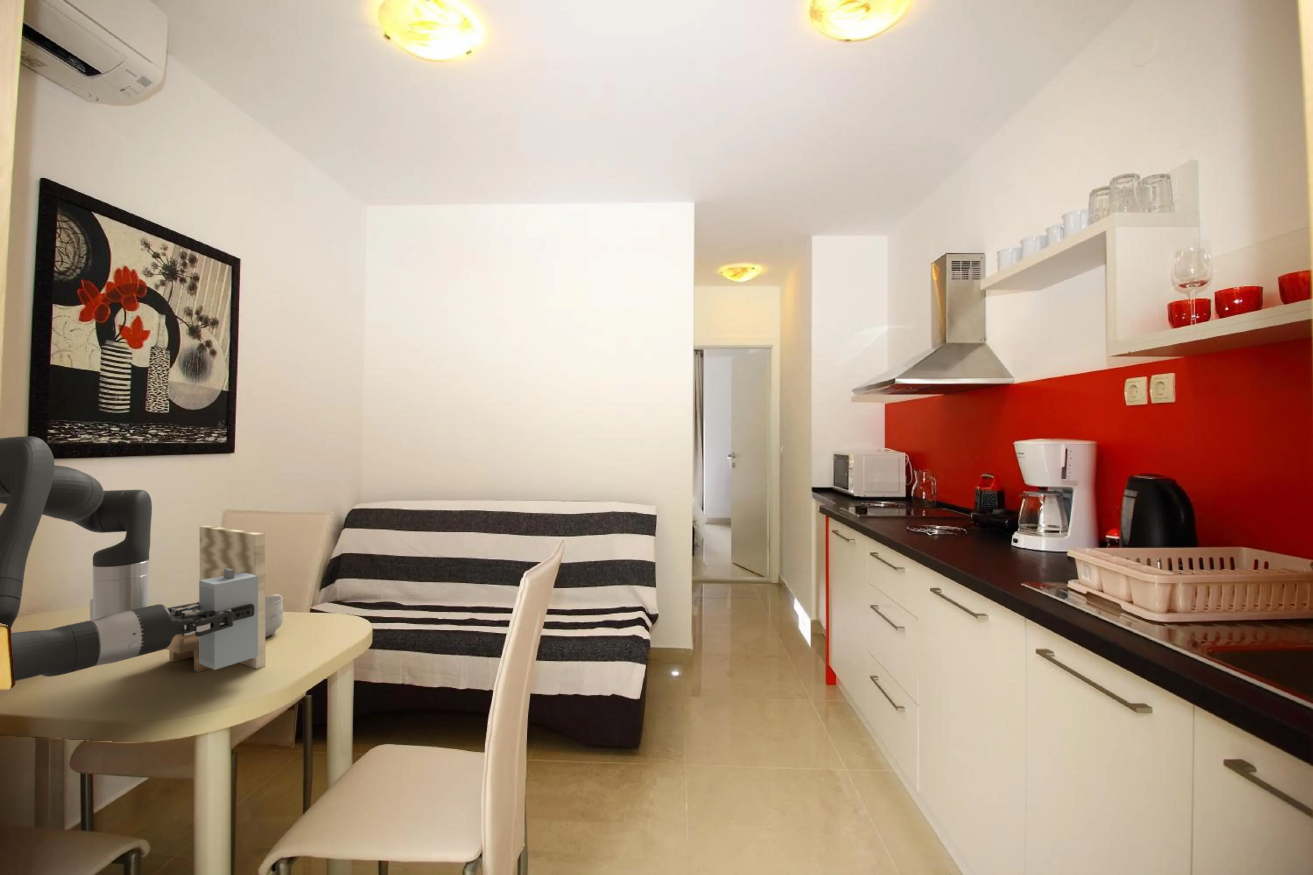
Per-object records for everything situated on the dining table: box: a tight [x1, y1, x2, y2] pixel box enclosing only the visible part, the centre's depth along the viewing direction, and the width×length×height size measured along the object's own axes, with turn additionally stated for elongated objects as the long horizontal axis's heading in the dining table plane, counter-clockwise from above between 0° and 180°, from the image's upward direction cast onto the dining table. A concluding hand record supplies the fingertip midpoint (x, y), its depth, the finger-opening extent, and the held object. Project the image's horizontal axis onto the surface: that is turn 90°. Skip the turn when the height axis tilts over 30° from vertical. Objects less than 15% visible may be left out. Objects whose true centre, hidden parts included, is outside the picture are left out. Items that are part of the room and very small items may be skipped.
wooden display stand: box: [165, 525, 266, 673], centre depth 115 cm, size 22×11×26 cm, turn 61°
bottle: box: [198, 568, 258, 671], centre depth 106 cm, size 6×7×17 cm
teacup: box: [265, 593, 284, 638], centre depth 133 cm, size 14×11×8 cm
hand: (244, 606), depth 108 cm, fingers closed on bottle, 5 cm apart
